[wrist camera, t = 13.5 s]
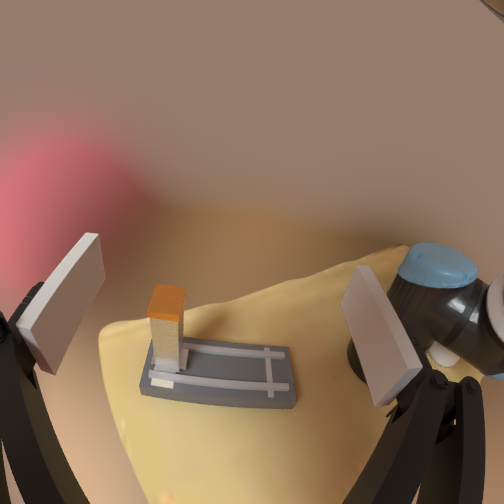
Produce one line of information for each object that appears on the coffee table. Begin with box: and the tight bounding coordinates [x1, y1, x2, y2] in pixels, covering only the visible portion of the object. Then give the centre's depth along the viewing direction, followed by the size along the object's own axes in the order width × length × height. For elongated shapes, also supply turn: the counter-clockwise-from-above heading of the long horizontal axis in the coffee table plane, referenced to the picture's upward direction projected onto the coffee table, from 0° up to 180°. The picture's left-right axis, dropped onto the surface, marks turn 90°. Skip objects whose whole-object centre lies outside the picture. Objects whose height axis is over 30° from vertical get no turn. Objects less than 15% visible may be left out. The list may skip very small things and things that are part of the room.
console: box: [139, 337, 297, 409], centre depth 38 cm, size 21×10×3 cm, turn 92°
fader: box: [147, 284, 189, 372], centre depth 33 cm, size 5×5×11 cm
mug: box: [429, 341, 460, 367], centre depth 46 cm, size 12×8×10 cm
